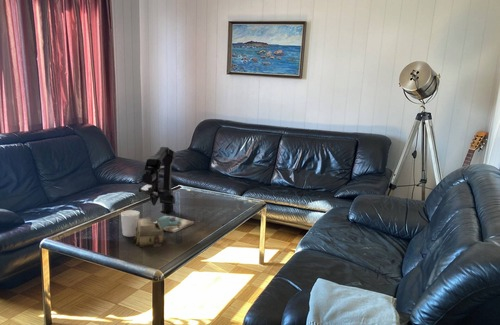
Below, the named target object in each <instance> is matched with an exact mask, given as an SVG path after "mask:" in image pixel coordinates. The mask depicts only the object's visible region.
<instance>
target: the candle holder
mask: <svg viewBox="0 0 500 325" xmlns="http://www.w3.org/2000/svg"><path fill="white" fill-rule="evenodd" d="M140 215H141V214H140V211H138V210H135V209H131V210H130V209H129V210H127V209H126V210H124V211H122V212H121V213H120V219H121V234H122V235H123V236H124V237H127V238H128V237H130V238H131V237H135V235H136V227H137V219H138V218H140Z"/></svg>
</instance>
